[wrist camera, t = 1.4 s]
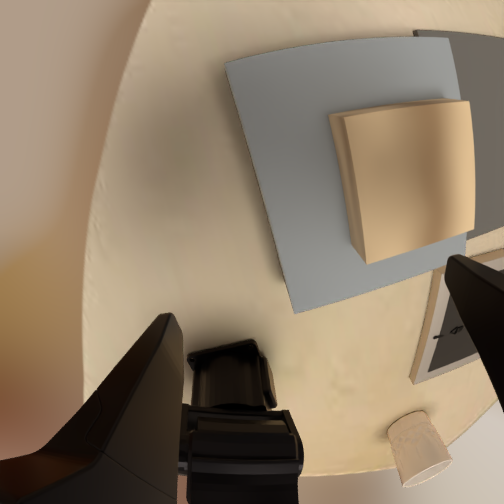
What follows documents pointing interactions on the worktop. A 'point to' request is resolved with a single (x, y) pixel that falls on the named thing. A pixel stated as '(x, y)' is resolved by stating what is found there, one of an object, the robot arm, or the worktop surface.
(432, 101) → the coaster
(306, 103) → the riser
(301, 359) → the worktop surface
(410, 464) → the white cup
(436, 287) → the picture frame
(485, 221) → the rubber mat
